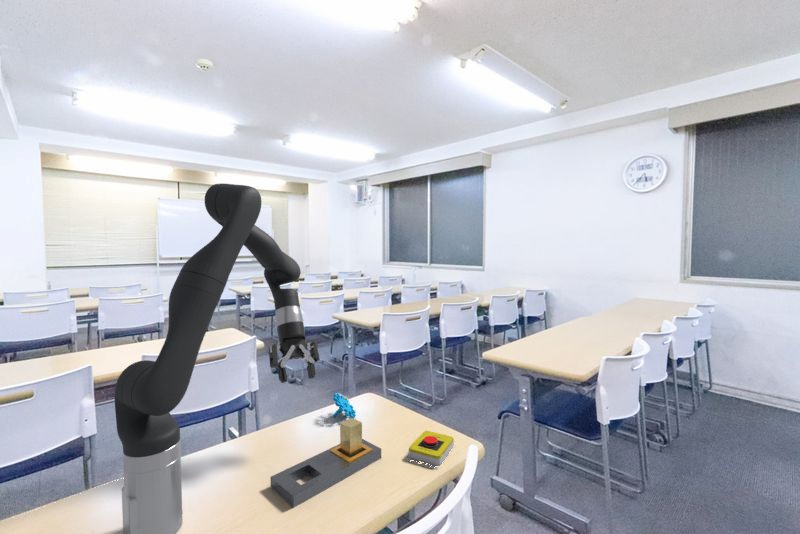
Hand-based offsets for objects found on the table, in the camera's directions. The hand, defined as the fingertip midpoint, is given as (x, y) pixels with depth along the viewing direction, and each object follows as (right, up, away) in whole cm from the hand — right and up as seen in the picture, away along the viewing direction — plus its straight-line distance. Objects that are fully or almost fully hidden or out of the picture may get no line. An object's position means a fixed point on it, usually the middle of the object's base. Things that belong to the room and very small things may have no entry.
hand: (298, 380), depth 103 cm
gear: (+10, -18, +20) cm, 29 cm away
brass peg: (+15, -19, -6) cm, 25 cm away
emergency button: (+37, -20, -2) cm, 42 cm away
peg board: (+11, -19, -11) cm, 25 cm away
